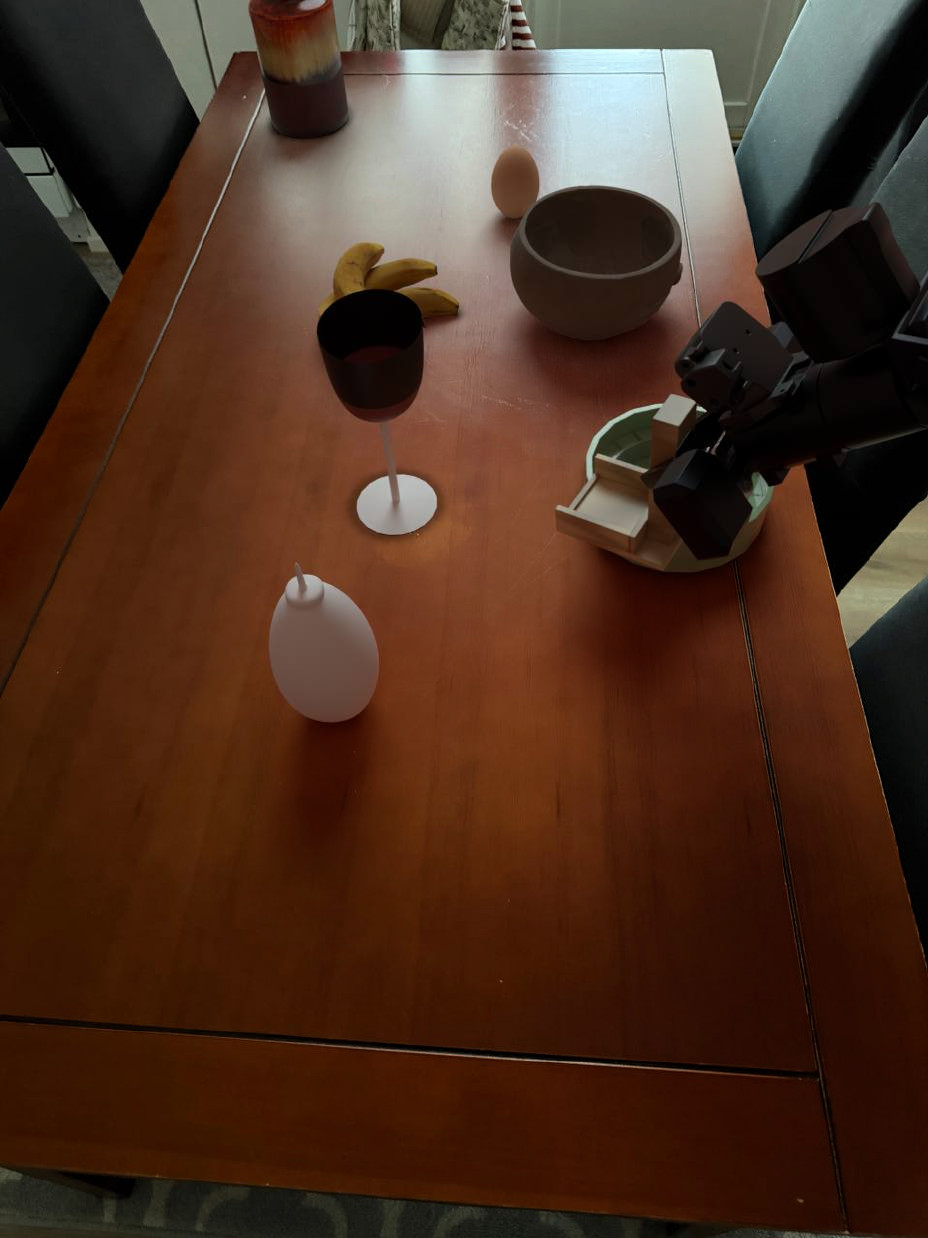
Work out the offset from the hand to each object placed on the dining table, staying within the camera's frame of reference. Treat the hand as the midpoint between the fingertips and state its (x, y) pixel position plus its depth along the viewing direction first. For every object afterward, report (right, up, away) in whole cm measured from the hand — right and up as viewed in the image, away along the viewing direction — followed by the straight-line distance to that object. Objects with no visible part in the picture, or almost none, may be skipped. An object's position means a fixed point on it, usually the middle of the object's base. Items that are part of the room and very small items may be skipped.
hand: (653, 466), depth 67 cm
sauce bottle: (-24, -18, +5) cm, 31 cm away
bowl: (0, +22, +32) cm, 39 cm away
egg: (-8, +38, +43) cm, 58 cm away
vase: (-36, +58, +59) cm, 90 cm away
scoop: (-1, -3, +6) cm, 7 cm away
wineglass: (-20, -1, +17) cm, 27 cm away
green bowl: (+5, -1, +15) cm, 16 cm away
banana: (-22, +21, +32) cm, 44 cm away
